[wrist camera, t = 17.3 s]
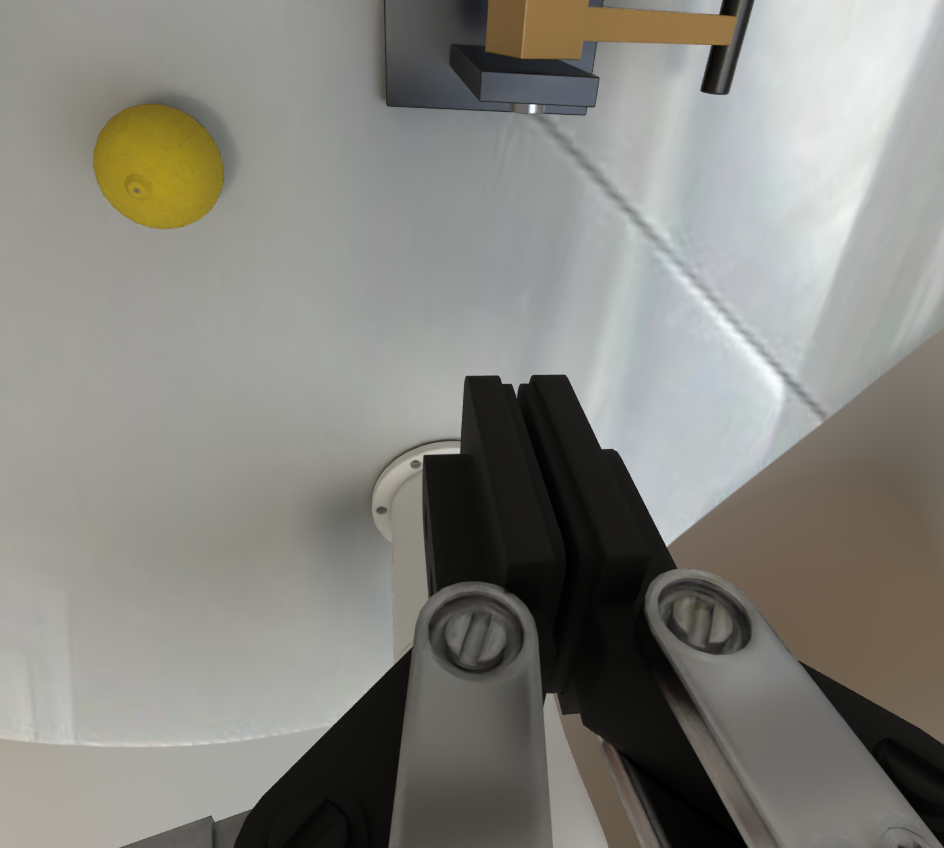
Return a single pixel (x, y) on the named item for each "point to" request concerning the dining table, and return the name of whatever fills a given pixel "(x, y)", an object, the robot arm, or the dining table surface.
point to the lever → (616, 31)
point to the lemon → (158, 166)
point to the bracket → (475, 64)
